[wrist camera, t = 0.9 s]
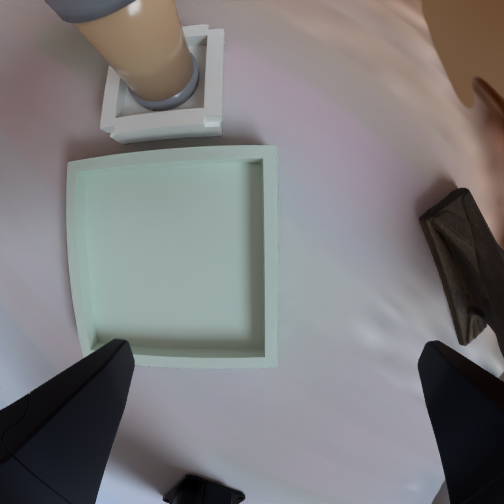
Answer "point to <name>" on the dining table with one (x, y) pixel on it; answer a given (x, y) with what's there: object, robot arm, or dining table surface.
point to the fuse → (138, 46)
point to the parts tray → (177, 255)
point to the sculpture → (467, 265)
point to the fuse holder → (182, 117)
